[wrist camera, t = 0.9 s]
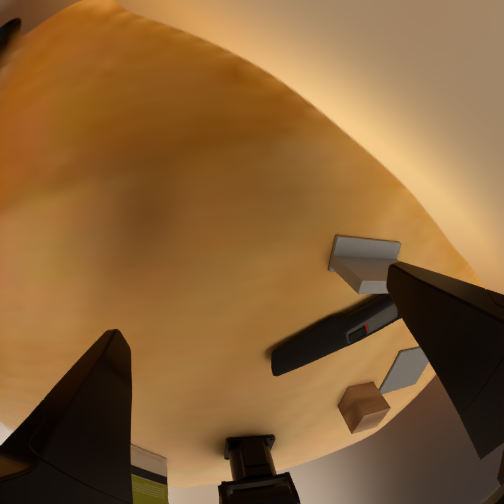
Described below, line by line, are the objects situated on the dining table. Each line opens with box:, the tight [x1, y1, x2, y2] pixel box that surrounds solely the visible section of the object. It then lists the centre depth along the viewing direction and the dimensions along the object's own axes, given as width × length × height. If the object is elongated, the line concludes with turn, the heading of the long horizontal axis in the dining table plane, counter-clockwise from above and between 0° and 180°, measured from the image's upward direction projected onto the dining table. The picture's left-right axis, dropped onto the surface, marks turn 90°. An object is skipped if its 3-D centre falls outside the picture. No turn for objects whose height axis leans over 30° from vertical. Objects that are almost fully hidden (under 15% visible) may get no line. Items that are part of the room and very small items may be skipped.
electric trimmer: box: [271, 293, 402, 376], centre depth 23 cm, size 4×16×3 cm, turn 111°
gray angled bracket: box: [328, 235, 401, 294], centre depth 20 cm, size 3×7×5 cm, turn 83°
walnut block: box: [338, 382, 390, 434], centre depth 27 cm, size 4×4×5 cm
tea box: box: [131, 444, 169, 504], centre depth 22 cm, size 15×10×15 cm, turn 133°
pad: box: [379, 347, 429, 394], centre depth 30 cm, size 8×8×1 cm
